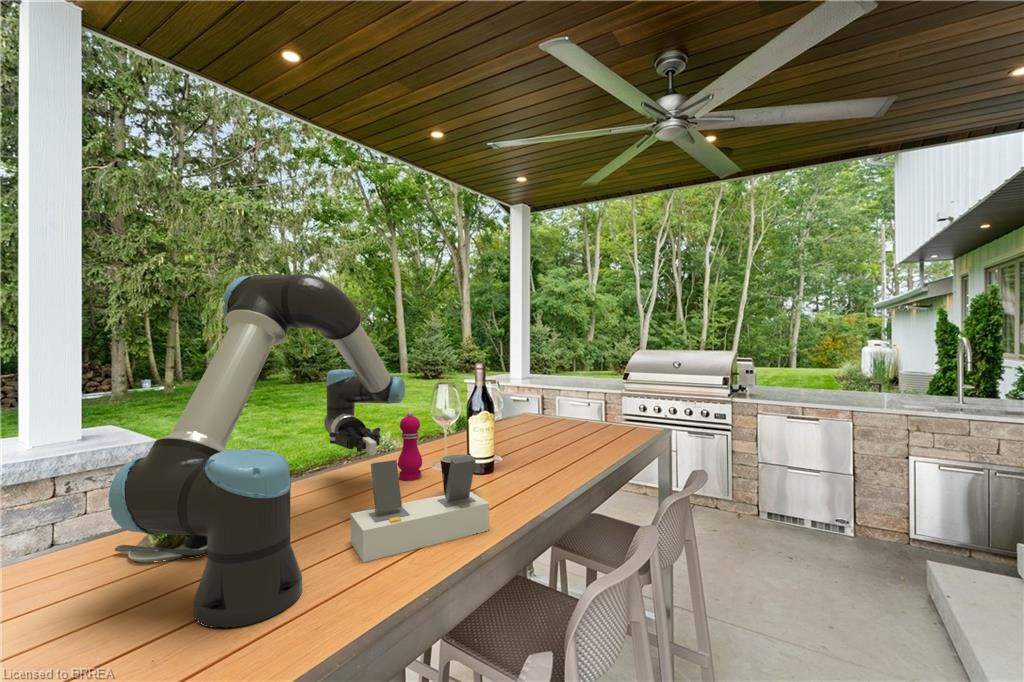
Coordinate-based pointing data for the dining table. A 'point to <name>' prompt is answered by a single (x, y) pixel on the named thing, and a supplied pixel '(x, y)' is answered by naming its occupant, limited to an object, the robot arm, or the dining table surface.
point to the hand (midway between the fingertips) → (373, 448)
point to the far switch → (460, 478)
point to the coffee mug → (448, 467)
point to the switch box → (417, 525)
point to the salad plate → (165, 547)
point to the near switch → (386, 485)
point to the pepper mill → (410, 449)
